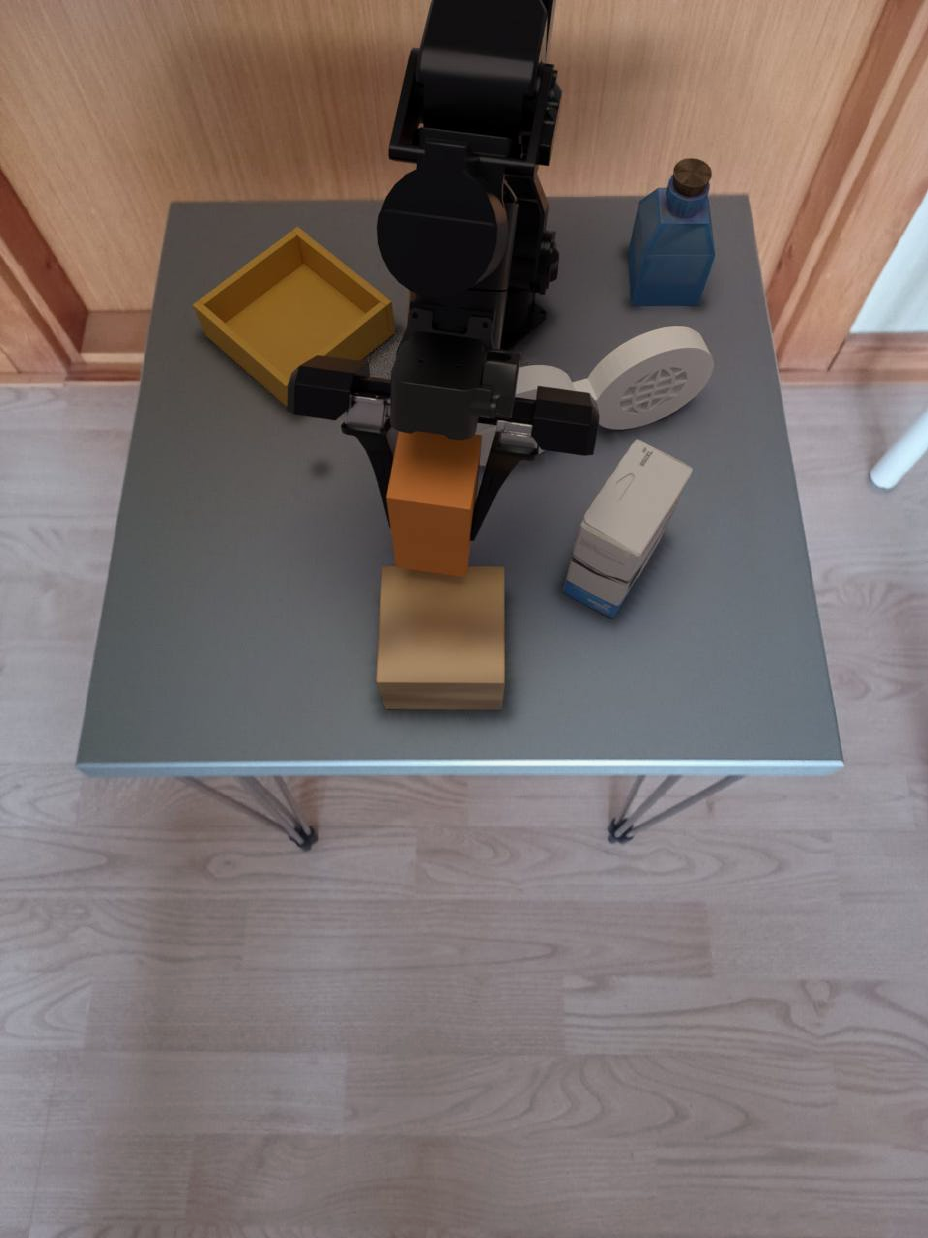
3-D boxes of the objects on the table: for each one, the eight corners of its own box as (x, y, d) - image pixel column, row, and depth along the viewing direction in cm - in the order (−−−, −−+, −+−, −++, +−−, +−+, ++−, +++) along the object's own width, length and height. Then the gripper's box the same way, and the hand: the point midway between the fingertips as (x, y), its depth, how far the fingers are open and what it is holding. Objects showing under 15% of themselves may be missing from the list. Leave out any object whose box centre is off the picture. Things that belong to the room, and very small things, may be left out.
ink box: (613, 622, 70) (640, 559, 59) (559, 592, 71) (576, 524, 60) (662, 540, 72) (697, 465, 61) (609, 512, 73) (634, 434, 62)
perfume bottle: (698, 305, 81) (734, 201, 70) (631, 305, 81) (657, 200, 70) (692, 253, 83) (726, 144, 72) (627, 253, 83) (652, 144, 72)
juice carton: (407, 503, 63) (400, 423, 52) (475, 513, 63) (482, 434, 52) (395, 567, 61) (385, 497, 51) (465, 577, 61) (470, 509, 51)
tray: (305, 259, 83) (297, 226, 79) (395, 332, 80) (391, 301, 76) (205, 335, 80) (192, 304, 76) (295, 414, 77) (285, 385, 73)
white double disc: (686, 390, 78) (716, 312, 68) (696, 409, 77) (728, 333, 67) (452, 457, 75) (450, 386, 66) (460, 478, 74) (459, 410, 65)
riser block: (390, 601, 70) (381, 565, 64) (501, 602, 70) (504, 565, 64) (385, 709, 67) (375, 682, 61) (501, 710, 67) (505, 683, 60)
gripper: (261, 271, 44) (256, 556, 51) (627, 321, 43) (573, 603, 50) (316, 260, 54) (306, 499, 61) (614, 300, 53) (571, 538, 60)
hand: (432, 533), depth 58 cm, fingers closed on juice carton, 5 cm apart
